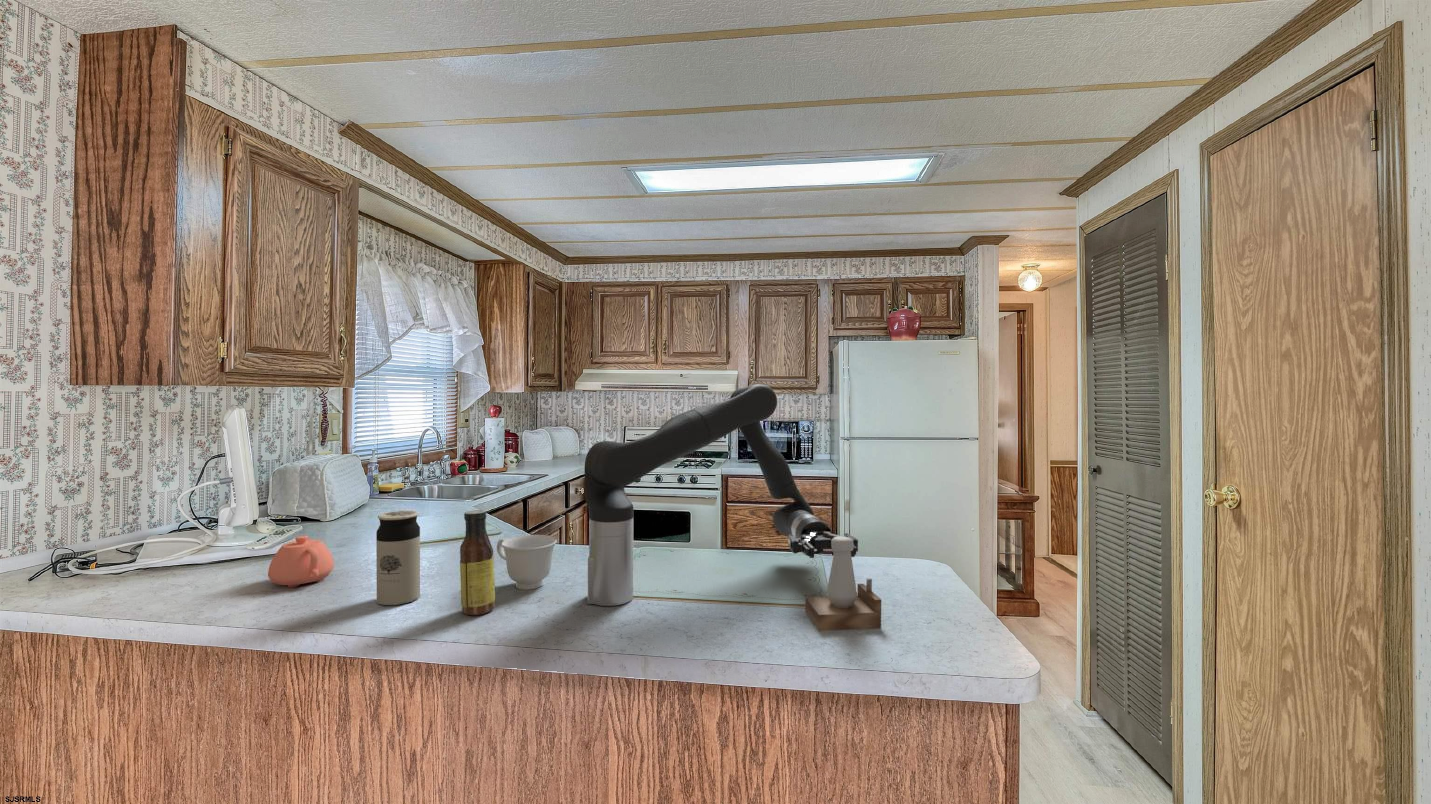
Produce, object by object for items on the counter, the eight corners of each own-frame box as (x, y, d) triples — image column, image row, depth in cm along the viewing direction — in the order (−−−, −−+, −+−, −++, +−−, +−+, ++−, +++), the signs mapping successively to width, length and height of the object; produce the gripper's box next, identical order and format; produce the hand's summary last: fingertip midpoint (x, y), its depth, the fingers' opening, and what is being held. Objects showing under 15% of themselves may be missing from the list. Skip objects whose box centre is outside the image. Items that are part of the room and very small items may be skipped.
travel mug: (396, 591, 125) (396, 509, 125) (428, 594, 124) (428, 510, 123) (367, 604, 117) (366, 516, 117) (401, 608, 116) (400, 519, 116)
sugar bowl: (321, 569, 140) (321, 527, 140) (346, 580, 132) (346, 536, 132) (259, 582, 130) (259, 537, 130) (282, 596, 122) (282, 548, 122)
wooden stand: (818, 631, 107) (819, 589, 106) (805, 612, 116) (805, 573, 115) (881, 628, 108) (881, 586, 108) (862, 610, 117) (863, 571, 117)
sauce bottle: (501, 607, 117) (501, 509, 116) (479, 618, 111) (479, 515, 110) (475, 603, 119) (475, 507, 119) (452, 614, 113) (452, 513, 113)
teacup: (515, 572, 139) (515, 531, 139) (567, 580, 133) (567, 537, 133) (478, 588, 128) (478, 543, 127) (533, 598, 122) (533, 551, 122)
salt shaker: (839, 612, 108) (840, 542, 108) (820, 602, 113) (820, 536, 113) (863, 606, 111) (864, 539, 111) (843, 597, 116) (844, 532, 116)
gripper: (780, 517, 132) (799, 535, 116) (840, 516, 134) (867, 533, 118) (780, 549, 133) (798, 572, 116) (840, 548, 134) (866, 570, 118)
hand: (833, 552), depth 117 cm, fingers open, 8 cm apart
